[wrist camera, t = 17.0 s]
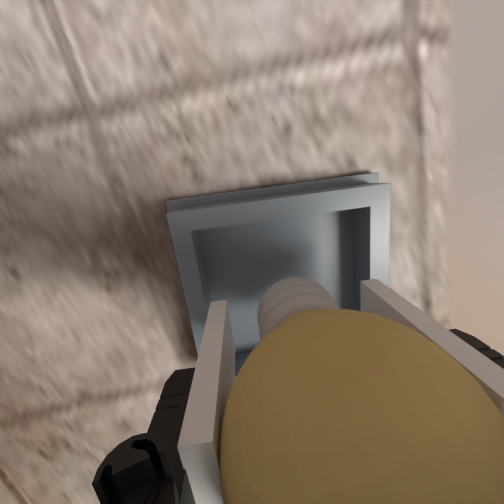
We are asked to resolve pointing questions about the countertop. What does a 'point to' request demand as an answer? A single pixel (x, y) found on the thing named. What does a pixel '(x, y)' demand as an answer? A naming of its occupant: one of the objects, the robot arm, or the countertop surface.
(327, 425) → the light bulb
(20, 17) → the countertop surface
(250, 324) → the tray
